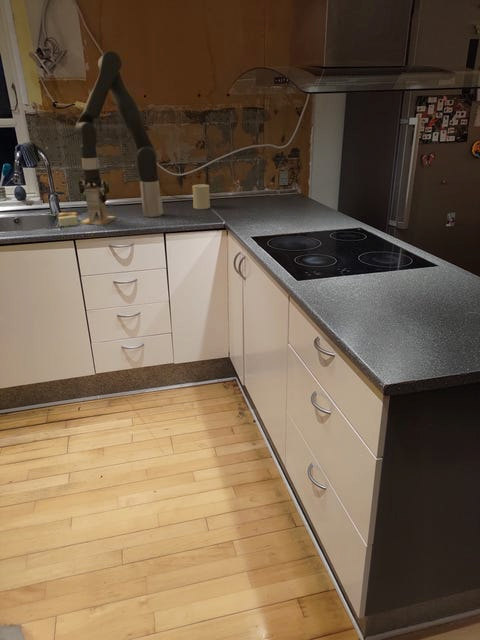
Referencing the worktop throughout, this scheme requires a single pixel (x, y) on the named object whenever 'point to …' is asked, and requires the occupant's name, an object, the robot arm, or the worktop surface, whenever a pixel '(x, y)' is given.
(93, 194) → the coffee box
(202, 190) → the can
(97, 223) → the birch board
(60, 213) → the oak block
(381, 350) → the worktop surface
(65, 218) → the sage block
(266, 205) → the worktop surface
